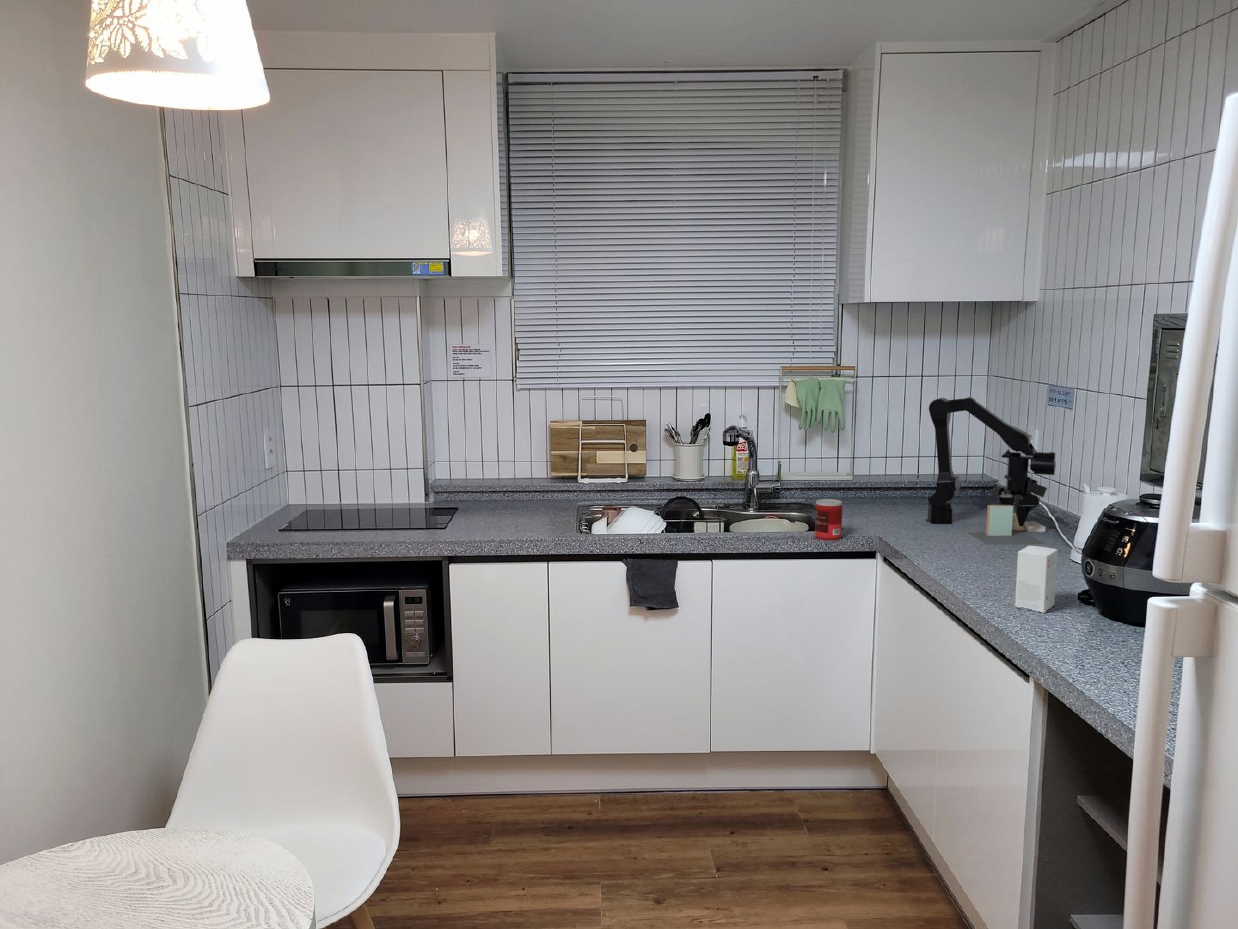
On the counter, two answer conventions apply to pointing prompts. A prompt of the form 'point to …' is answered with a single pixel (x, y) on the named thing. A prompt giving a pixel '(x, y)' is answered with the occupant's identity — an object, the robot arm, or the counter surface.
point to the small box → (1036, 578)
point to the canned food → (828, 519)
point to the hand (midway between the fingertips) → (1014, 523)
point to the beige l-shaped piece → (1027, 526)
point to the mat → (1007, 539)
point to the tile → (999, 520)
